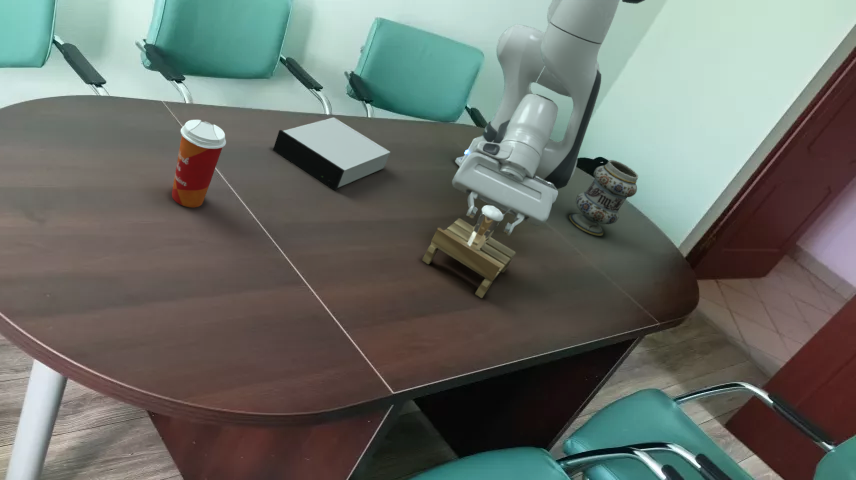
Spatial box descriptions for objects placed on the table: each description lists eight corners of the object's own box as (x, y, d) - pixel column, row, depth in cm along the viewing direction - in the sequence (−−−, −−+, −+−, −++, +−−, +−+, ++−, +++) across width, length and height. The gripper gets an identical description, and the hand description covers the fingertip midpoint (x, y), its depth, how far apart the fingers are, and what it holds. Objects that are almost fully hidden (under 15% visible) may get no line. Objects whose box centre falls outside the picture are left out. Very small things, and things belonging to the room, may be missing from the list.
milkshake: (490, 255, 135) (514, 214, 130) (467, 250, 133) (490, 208, 128) (484, 242, 139) (506, 202, 133) (461, 237, 137) (483, 196, 132)
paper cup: (169, 182, 123) (185, 113, 115) (210, 194, 125) (229, 127, 117) (162, 203, 117) (179, 132, 109) (206, 215, 119) (225, 146, 111)
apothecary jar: (614, 238, 181) (654, 182, 171) (587, 238, 174) (627, 180, 164) (584, 212, 188) (620, 157, 179) (557, 211, 181) (593, 153, 172)
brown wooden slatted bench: (450, 235, 147) (466, 205, 143) (505, 269, 144) (523, 239, 140) (420, 261, 133) (437, 229, 129) (480, 299, 130) (500, 267, 126)
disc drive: (272, 150, 149) (279, 129, 146) (326, 133, 167) (333, 115, 164) (334, 190, 144) (342, 171, 141) (383, 169, 162) (391, 151, 159)
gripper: (555, 192, 138) (530, 251, 135) (465, 150, 139) (438, 208, 136) (567, 181, 132) (541, 243, 129) (472, 138, 132) (445, 198, 130)
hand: (488, 224), depth 132 cm, fingers open, 6 cm apart
